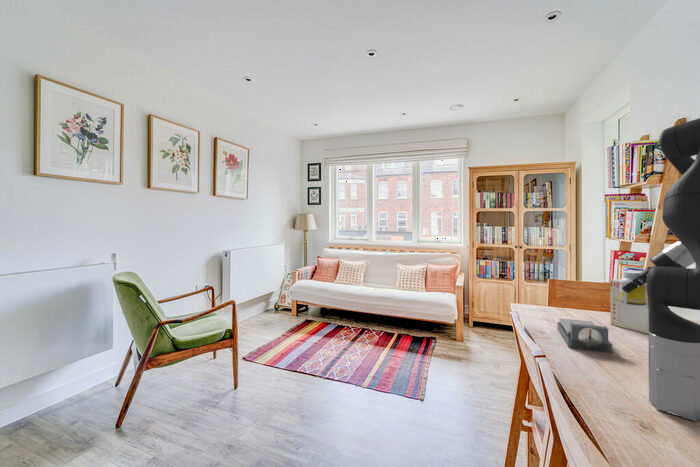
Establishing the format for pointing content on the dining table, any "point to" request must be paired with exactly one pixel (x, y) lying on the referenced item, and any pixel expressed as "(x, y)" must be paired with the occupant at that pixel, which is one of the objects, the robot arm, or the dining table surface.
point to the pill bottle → (634, 296)
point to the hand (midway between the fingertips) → (626, 289)
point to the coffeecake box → (627, 311)
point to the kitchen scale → (586, 337)
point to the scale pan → (566, 323)
